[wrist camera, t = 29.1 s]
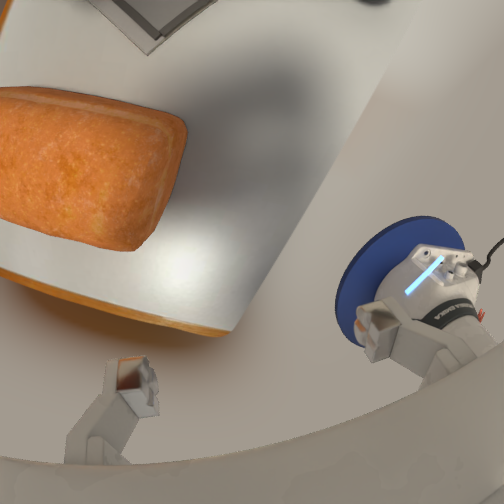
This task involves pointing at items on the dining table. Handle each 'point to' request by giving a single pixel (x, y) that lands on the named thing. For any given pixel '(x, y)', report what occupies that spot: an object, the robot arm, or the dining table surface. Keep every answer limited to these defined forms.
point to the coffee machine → (150, 18)
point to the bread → (86, 165)
